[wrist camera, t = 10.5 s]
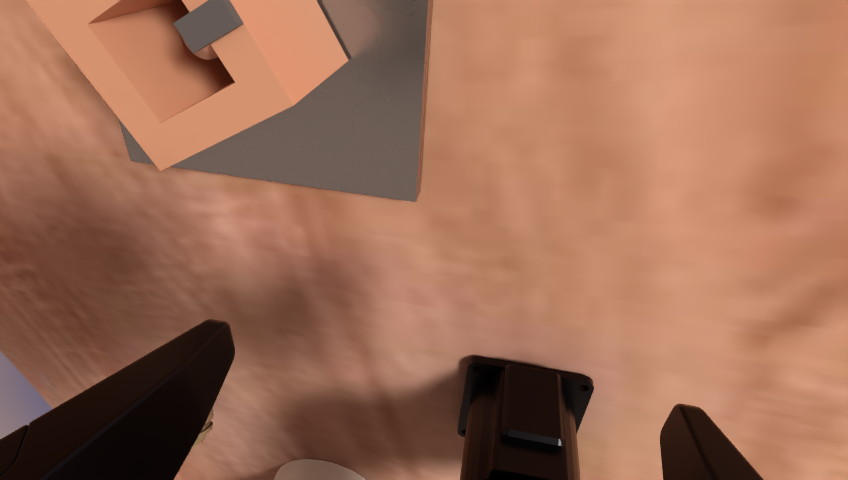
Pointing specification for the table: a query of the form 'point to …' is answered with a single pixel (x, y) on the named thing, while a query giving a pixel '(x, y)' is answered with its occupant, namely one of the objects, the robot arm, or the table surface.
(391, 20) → the grey square base plate
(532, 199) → the table surface
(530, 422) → the robot arm
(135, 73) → the hollow block with latch
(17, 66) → the table surface
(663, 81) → the table surface
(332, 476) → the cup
